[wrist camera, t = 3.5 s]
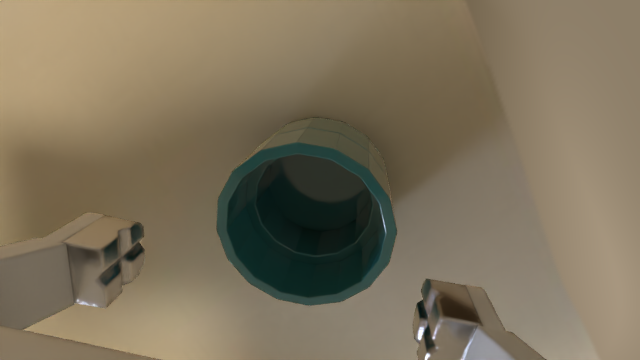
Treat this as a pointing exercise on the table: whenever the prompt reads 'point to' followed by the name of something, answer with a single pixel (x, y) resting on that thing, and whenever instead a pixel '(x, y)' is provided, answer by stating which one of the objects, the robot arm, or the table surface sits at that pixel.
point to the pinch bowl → (309, 213)
